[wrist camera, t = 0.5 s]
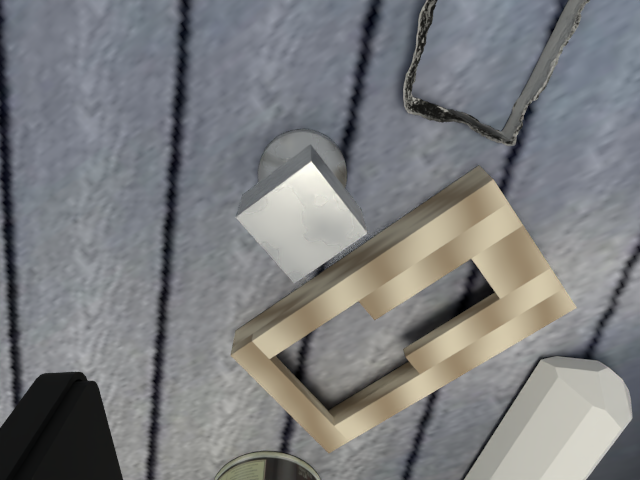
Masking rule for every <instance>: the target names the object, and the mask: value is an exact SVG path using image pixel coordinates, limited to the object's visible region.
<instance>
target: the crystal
mask: <svg viewBox="0 0 640 480" xmlns="http://www.w3.org/2000/svg"><path fill="white" fill-rule="evenodd" d="M631 419H632V408H631V399H630V394H629V390H628V388H627V386H626V385H625V383H624V381H623V380H622V379H621V378H620V377H619V376H618V375H617V374H616V373H614V372H613V371H612V370H611V369H610V368H609V367H607V366H606V365H604V364H603V363H601V362H600V361H596V360H587V359H578V358H569V357H560V356H555V357H550V358H546V359H542V360H540V362H539V363H538V365H537V367H536V368H535V370H534V371H533V373H532V374H531V376H530V378H529V379H528V381H527V382H526V384H525V385H524V387H523V388H522V390H521V392H520V393H519V395H518V396H517V398H516V399H515V401H514V403H513V404H512V406H511V407H510V409H509V410H508V412H507V413H506V415H505V417H504V418H503V420H502V421H501V423H500V424H499V426H498V428H497V429H496V431H495V432H494V434H493V435H492V437H491V439H490V440H489V442H488V443H487V445H486V446H485V448H484V449H483V451H482V453H481V454H480V456H479V457H478V459H477V460H476V462H475V464H474V465H473V467H472V468H471V470H470V471H469V473H468V474H467V476H466V478H465V479H464V480H586V479H587V478H588V476H589V475H590V474H591V472H592V471H593V470H594V468H595V467H596V466H597V464H598V463H599V462H600V460H601V459H602V458H603V456H604V455H605V454H606V452H607V451H608V450H609V448H610V447H611V446H612V444H613V443H614V442H615V440H616V439H617V438H618V437H619V435H620V434H621V433H622V431H623V430H624V429H625V427H626V426H627V425H628V423H629V422H630V421H631Z"/></svg>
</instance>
